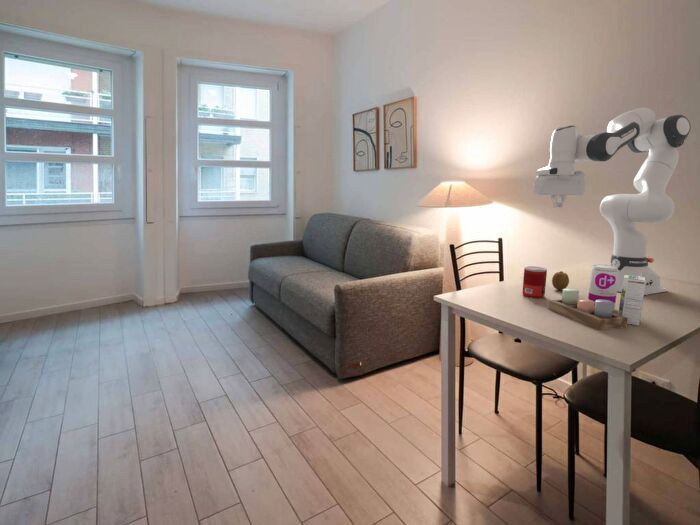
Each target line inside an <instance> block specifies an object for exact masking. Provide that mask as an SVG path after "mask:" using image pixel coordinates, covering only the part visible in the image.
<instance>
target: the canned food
mask: <svg viewBox="0 0 700 525" xmlns="http://www.w3.org/2000/svg"><path fill="white" fill-rule="evenodd" d="M547 272H548V269H547V268H546V267H542V266H532V265H531V266H530V265H529V266H524V268H523V278H522V279H523V282H522V295H523V296H524V297H526V298H530V297H531V298H532V299H542V298H543V299H544V297H545V294H546V287H547V286H546V285H547V275H548V273H547Z"/></svg>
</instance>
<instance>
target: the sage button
mask: <svg viewBox="0 0 700 525" xmlns="http://www.w3.org/2000/svg"><path fill="white" fill-rule="evenodd" d="M579 292H580V291H579V290H578V289H575V288H565V289H563V290H562V294H561V299H562V303H563V304H566V305H568V306H569V305H577V303H578V299H579Z"/></svg>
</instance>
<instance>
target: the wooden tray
mask: <svg viewBox="0 0 700 525" xmlns="http://www.w3.org/2000/svg"><path fill="white" fill-rule="evenodd" d="M547 308H548V309H549V310H551V311H553V312H555V313H558V314H560V315H562V316H565V317H567V318H570V319H572V320H575V321H577V322H578V323H582V324H584V325H586V324H587V325H586V326H588V325H589V326H588V327H590V328H593V329H595V328H596V329H595V330H598V331H599V330H602V329H603V330H611V328H614V329H622V328H621V327H625V328H627V327H628V324H627V320H628V318H627V317H624V316H621V315H618V313H615V312H613V314H612V318H605V319H602V318H600V317H597V316H594V311H588V312H584V311H581V310H579V309H577V305H569V306H568V305H566V304H563V303H562V298H561V299H559V298H558V299H548V305H547ZM594 309H595V306H594ZM603 330H602V331H603Z"/></svg>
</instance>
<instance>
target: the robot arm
mask: <svg viewBox="0 0 700 525" xmlns="http://www.w3.org/2000/svg"><path fill="white" fill-rule="evenodd" d="M691 128H692V127H691V122H690V120H689V119H688V117H686V116H685V115H683V114H674V115H669V116H667V117H665V118H660V119H656V113H655V112H654V111H653V110H652V109H651V108H648V107H639V108H634V109H631V110H629V111H625V112H624V113H621V114H619V115H618V116H615V118H613V119H612V120H610V121H609V123H608V125H607V127H606V132H600V133H596V134H595V133H594V134H589V135H584V134H582V133H580V131H579V130H578V127H577V126H576V125H567V126H561V127H560V126H559V127H557V128H555V129H553V130H554V131H553V132H552V135H551V140H550V146H549V147H550V148H549V152H550V159H549V162H548V165H547V166H545V167H542V168H539V169H536V171H535V175H536V177H535V179H534V183H533V188H532V189H533V194H534V195H535V196H550V199H551V201H552V208H564V207H563V206H564V202H565V201H566V199H567V196H583V195H584V194H585V192H586V191H585V190H586V181H585V173H584V172H583V171H581V170H575V168H576V163H586V162H587V163H588V162H606V161H610V160H611V159H612V158H613V157H614V156H615V155H616V153H617V152H618V151H619V150H620V149H622V148H623V147H625V146H626V145H627V147H628V149H629V150H630V151H631V152H633V153H636V154H637V153H639V154H640V153H646V152H648V151H649V152H648V155H647V157H646V158H645V160H644V162H643V163H642V165H641V166H640V168H639V170H638V171H637V174H636V175H635V177H634V178H633V187H634V188H635V189H636V191H637V192H639V193H617V194H616V193H615V194H611V195H606V196H605V197H604V198H603V199H602V200H601V202H600V204H599V212H600V214H601V216H602V218H604V219H605V220H606V221H607V222H608V223H609V225H610V227H611V229H612V232H613V251H612V254H611V257H610V264H611V266H616V267H618V270H619V279H618V287H617V292H618V293H621V291H622V286H623V280H624V276H625V275H633V276H640V277H645V278H646V284H645V291H644V296H647V295H653V294H659V293H665V292H667V290H668V289H667V288H665V287H663V286H660V285H661V278H660V276H659V274H658V273H656V271H655V270H653V269H652V268H650V266H649V263H651V264H652V263H654V261H655V259H654V257H649V256H648V257H647V256H646V255H647V248H648V241H649V240H648V238H647V235H646V234H644V233H643V232H641V231H640V230H639V229H638V228H637V227H636V223H646V224H648V223H649V224H655V223H664V222H667V221H668V220H669V219H670V218H672V217H673V215H674V213H675V209H676V207H675V203H674V200H673V199H672V198H671V196H669V195H668V194H667V193H666V187H667V186H668V183H669V182H670V179H671V178H672V175H673V174H674V172H675V170H676V168H677V166H678V162H679V157H680V154H679V151H678V150H677V148H680V147H681V146H682V145H683V144H684V143H685V141H686V139H687V138H688V137H689V134H690V132H691ZM558 199H559V200H558Z"/></svg>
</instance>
